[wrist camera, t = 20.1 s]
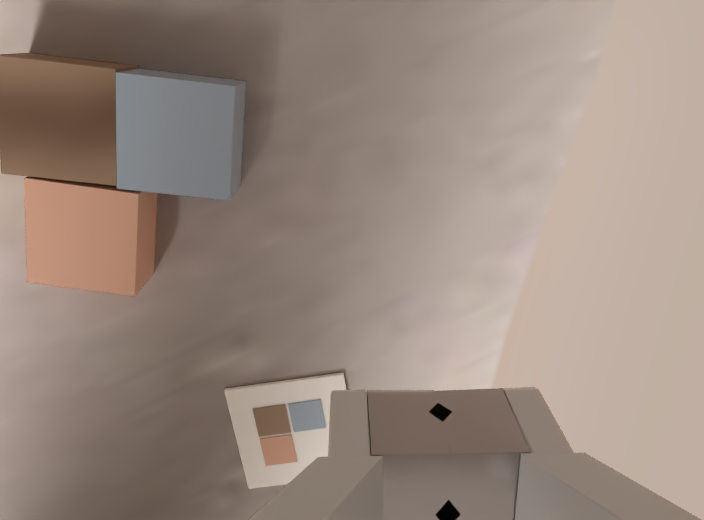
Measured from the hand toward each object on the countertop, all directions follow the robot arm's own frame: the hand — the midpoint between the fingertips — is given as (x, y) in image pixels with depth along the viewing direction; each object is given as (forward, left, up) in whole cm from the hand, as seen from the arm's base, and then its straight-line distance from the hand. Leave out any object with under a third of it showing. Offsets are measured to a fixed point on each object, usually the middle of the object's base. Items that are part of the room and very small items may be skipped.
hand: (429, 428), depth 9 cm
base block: (+1, +16, -29) cm, 33 cm away
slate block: (0, +10, -29) cm, 31 cm away
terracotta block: (-5, +16, -29) cm, 34 cm away
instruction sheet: (-20, +5, -29) cm, 36 cm away
